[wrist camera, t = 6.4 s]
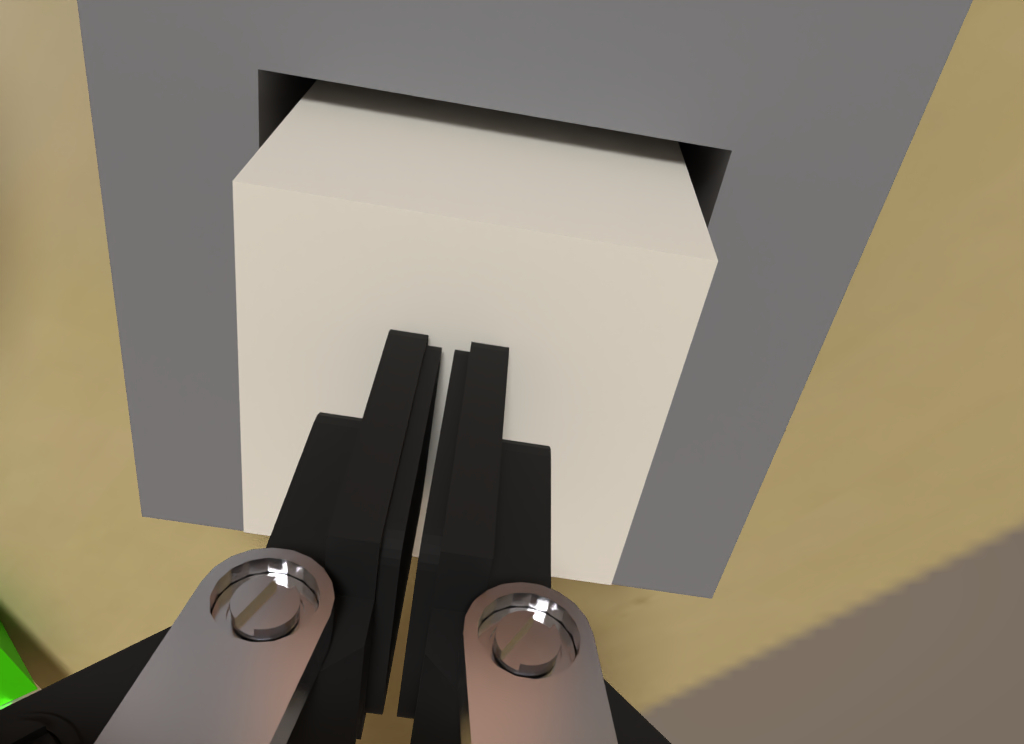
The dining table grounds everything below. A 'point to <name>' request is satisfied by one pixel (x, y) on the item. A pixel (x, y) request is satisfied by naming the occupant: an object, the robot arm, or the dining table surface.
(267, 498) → the cream key
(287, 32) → the key panel
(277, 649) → the robot arm
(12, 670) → the green triangular piece
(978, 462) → the dining table surface
